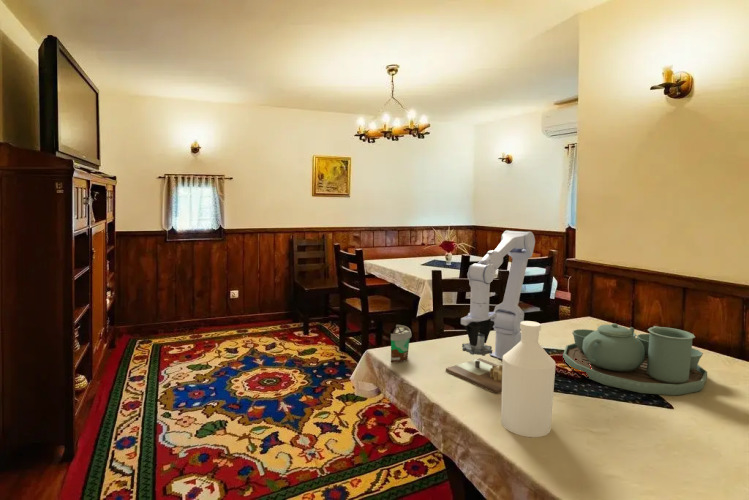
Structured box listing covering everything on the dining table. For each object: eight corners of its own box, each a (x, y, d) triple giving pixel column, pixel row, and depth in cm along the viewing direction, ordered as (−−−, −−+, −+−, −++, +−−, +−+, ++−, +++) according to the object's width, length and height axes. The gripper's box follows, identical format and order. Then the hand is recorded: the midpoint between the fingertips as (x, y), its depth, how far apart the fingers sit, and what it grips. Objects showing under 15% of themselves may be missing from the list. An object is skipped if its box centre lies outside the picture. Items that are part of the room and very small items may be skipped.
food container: (408, 365, 143) (409, 335, 142) (390, 363, 144) (390, 334, 143) (413, 352, 155) (413, 325, 154) (395, 351, 156) (396, 324, 155)
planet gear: (475, 342, 145) (476, 328, 145) (498, 351, 138) (499, 336, 137) (456, 348, 140) (457, 333, 139) (478, 357, 133) (479, 341, 132)
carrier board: (479, 361, 148) (480, 348, 147) (531, 380, 131) (532, 366, 131) (445, 371, 138) (446, 357, 138) (496, 394, 122) (497, 378, 122)
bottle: (523, 442, 98) (529, 333, 95) (489, 418, 108) (493, 319, 106) (563, 431, 102) (569, 327, 100) (526, 409, 113) (531, 315, 110)
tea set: (712, 369, 143) (716, 320, 141) (694, 411, 114) (700, 350, 112) (584, 342, 170) (586, 300, 168) (543, 370, 141) (546, 320, 139)
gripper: (485, 296, 144) (483, 336, 146) (454, 302, 136) (452, 344, 138) (502, 300, 139) (500, 342, 140) (471, 306, 130) (469, 350, 132)
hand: (478, 343), depth 139 cm, fingers closed on planet gear, 4 cm apart
